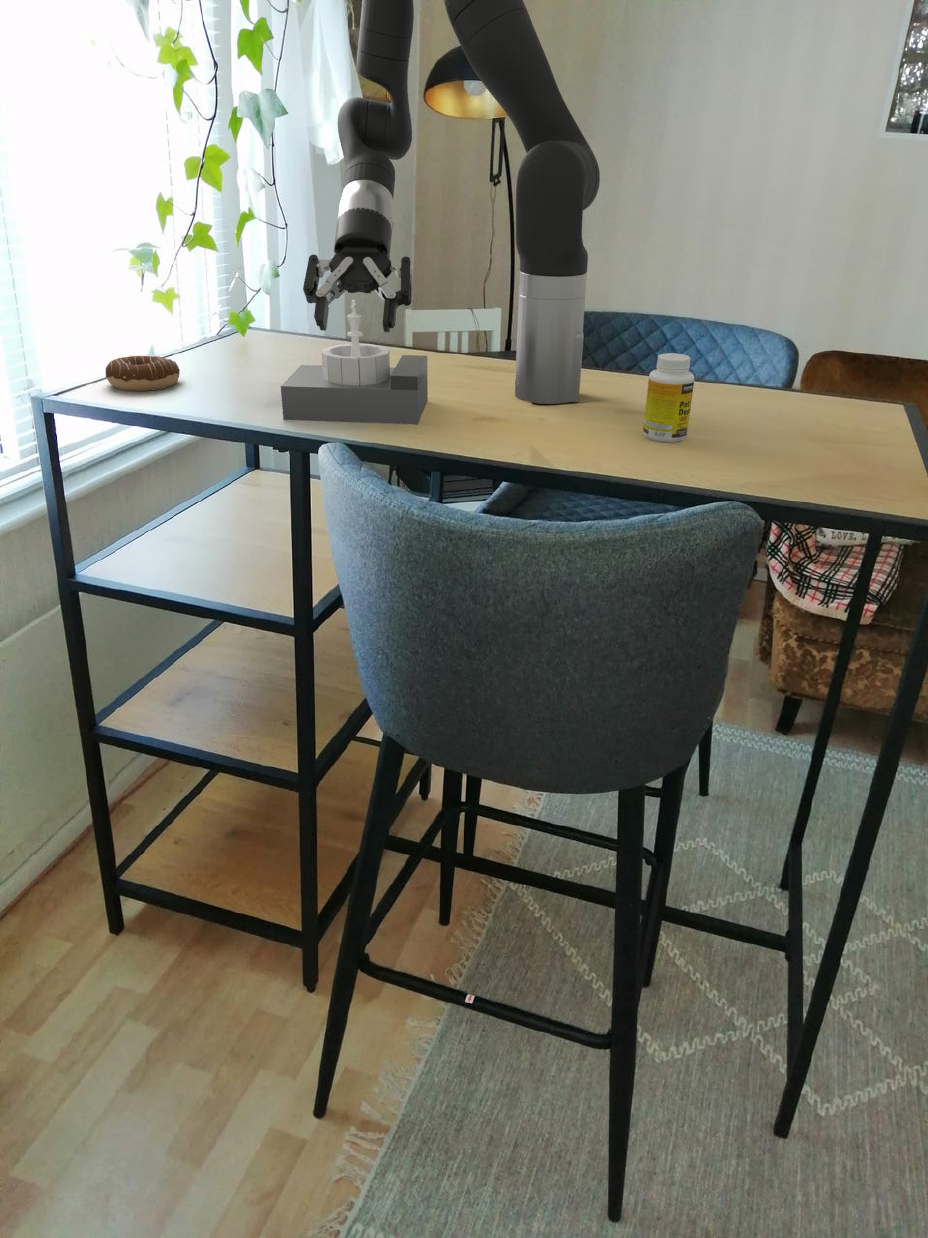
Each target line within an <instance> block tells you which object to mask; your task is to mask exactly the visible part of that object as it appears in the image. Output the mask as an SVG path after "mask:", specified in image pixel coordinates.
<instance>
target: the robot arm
mask: <svg viewBox="0 0 928 1238" xmlns="http://www.w3.org/2000/svg"><path fill="white" fill-rule="evenodd" d="M443 2H444V6H445V12H446V14H447V17H448V20H449V22H450V25H451V27H452V29H453V32H454V34H455V36H456V38H457V41H458V43H459V45H460V47H461V49H462V51H463V53H464V56H465V57H466V59H467V61H468V63H469V65H470V66H471V68H472V71H474V73H475V75H476V76H477V77H478V78H479V81H481V83H482V84H483V85H484V87H485V88H486V89H487V91H488V92H489V93H490V94H491V96H492V97H493V99H495V101H496V102H497V103H498V104H499V106H500V107H501V108H502V109H503V111H504V112H505V114H506V116H508V118H509V120H510V121H511V122H512V124H513V126H514V129H516V133H517V134H518V136H519V138H520V141H521V143H522V145H523V148H524V150H525V155H524V157H523V159H522V161H521V162H520V166H519V168H518V172H517V177H516V186H515V187H516V189H515V246H516V249H517V253H518V256H519V281H518V283H519V284H518V306H517V307H518V309H517V330H516V331H517V332H516V334H517V335H516V354H515V356H516V357H515V360H516V361H515V379H514V382H515V383H514V387H515V388H514V396H515V397H516V398H517V399H519V400H521V401H524V402H529V403H534V404H542V405H554V404H555V405H556V404H557V405H558V404H566V403H579V401H580V392H581V391H580V389H581V378H582V375H581V374H582V362H583V349H584V331H583V330H584V319H585V318H584V317H585V302H586V289H587V288H586V287H587V276H588V275H587V274H588V273H587V272H588V261H589V254H588V251H587V249H586V247H585V245H584V241H583V216H584V215H583V213H584V211H585V210H587V209H588V208H589V207H590V206H591V205H592V204H593V202H594V201H595V199H596V197H597V195H598V192H599V188H600V182H601V181H600V180H601V177H600V176H601V175H600V173H601V172H600V167H599V163H598V161H597V158H596V156H595V154H594V152H593V150H592V148H591V146H590V145H589V143H588V141H587V140H586V138H585V136H584V134H583V132H582V131H581V129H580V128H579V125H578V123H577V122H576V120H575V118H574V116H573V115H572V113H571V111H570V110H569V107H568V106H567V103H566V102H565V99H564V98H563V96H562V93H561V92H560V89H559V87H558V84H557V82H556V79H555V76H554V72H553V71H552V68H551V66H550V64H549V61H548V58H547V56H546V55H547V54H546V53H545V51H544V49H543V46H542V44H541V41H540V38H539V36H538V34H537V32H536V29H535V27H534V24H533V21H532V20H531V16H530V14H529V11H528V9H527V7H526V5H525V1H524V0H443ZM414 6H415V5H414V0H362V1H361V14H360V22H359V23H360V25H359V33H358V43H357V53H356V71H357V73H358V74H359V75H360V76H361V77H362V78H364V79H365V80H368V81H370V82H372V83H375V84H376V85H379V86H380V87H382V88H384V89H385V90H386V92H387V93H388V95H389V97H390V102H385V101H379V100H374V99H369V98H365V97H361V96H360V97H359V96H354V97H350V98H348V99H347V100H345V102H343V104H342V105H341V106H340V108H339V110H338V114H337V115H338V116H337V133H338V139H339V143H340V146H341V150H342V155H343V161H344V162H343V163H344V175H343V176H344V178H343V183H342V193H341V194H342V195H341V198H340V201H339V205H338V212H337V220H336V221H337V222H336V230H335V231H336V232H335V238H334V247H333V254H332V256H331V257H330V259H321V258H320V259H319V258H318V255H317V254H311V255H309V257H308V261H307V266H306V272H305V276H304V281H303V282H304V283H303V287H302V290H303V294H304V296H305V299H306V302H307V303H308V304H315V305H314V306H315V307H314V314H313V317H314V320H315V323H316V326H317V327H319V329H320V331H327V327H328V320H329V319H328V318H329V310H330V308H329V305H330V304H332V302H333V301H334V300H335V299H336V300H337V299H339V298H340V297H341V296H342V295H343V294H344V293H345V292H347V293H349V294H355V293H363V294H372V292H374V291H375V293H377V295H378V296H379V298H380V299H381V300H382V301H383V302H384V304H383V314H382V328H383V332H384V333H390V332H391V329H394V328H395V327H396V320H397V319H396V318H397V310H398V308H399V307H400V306H406V307H408V306H410V305H412V299H413V298H412V297H413V295H412V293H413V292H412V291H413V288H412V287H413V283H412V282H413V271H412V270H413V269H412V263H411V258H410V257H409V256H402V258H401V260H399V261H398V260H394V261H393V260H391V259H390V258H391V257H390V256H391V255H390V254H391V245H392V236H393V230H394V193H395V186H396V185H395V183H396V169H395V166H394V164H393V162H392V161H397V160H401V159H402V158H404V157H405V156H406V155H407V154H408V152H409V150H410V148H411V146H412V145H411V144H412V139H413V127H412V119H411V110H410V103H409V102H410V101H409V93H408V75H409V63H410V54H411V47H412V38H413V30H414V21H415V20H414V19H415V17H414V16H415V15H414V14H415V13H414V12H415V11H414V8H415V7H414ZM327 271H330V274H329V275H328V276H327V277H326V279H325V282H324V283H323V284H322V285H321V286H320V287H319V284H320V279H321V278H322V279H323V278H324V276H325V273H326V272H327ZM393 272H394V273H395V275H396V277H397V278H398V279H399V280H400V290H397V291H395V290H394V289H393V287H392V286H391V285H390V283H389V282H388V277H390V276H391V274H392V273H393Z"/></svg>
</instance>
